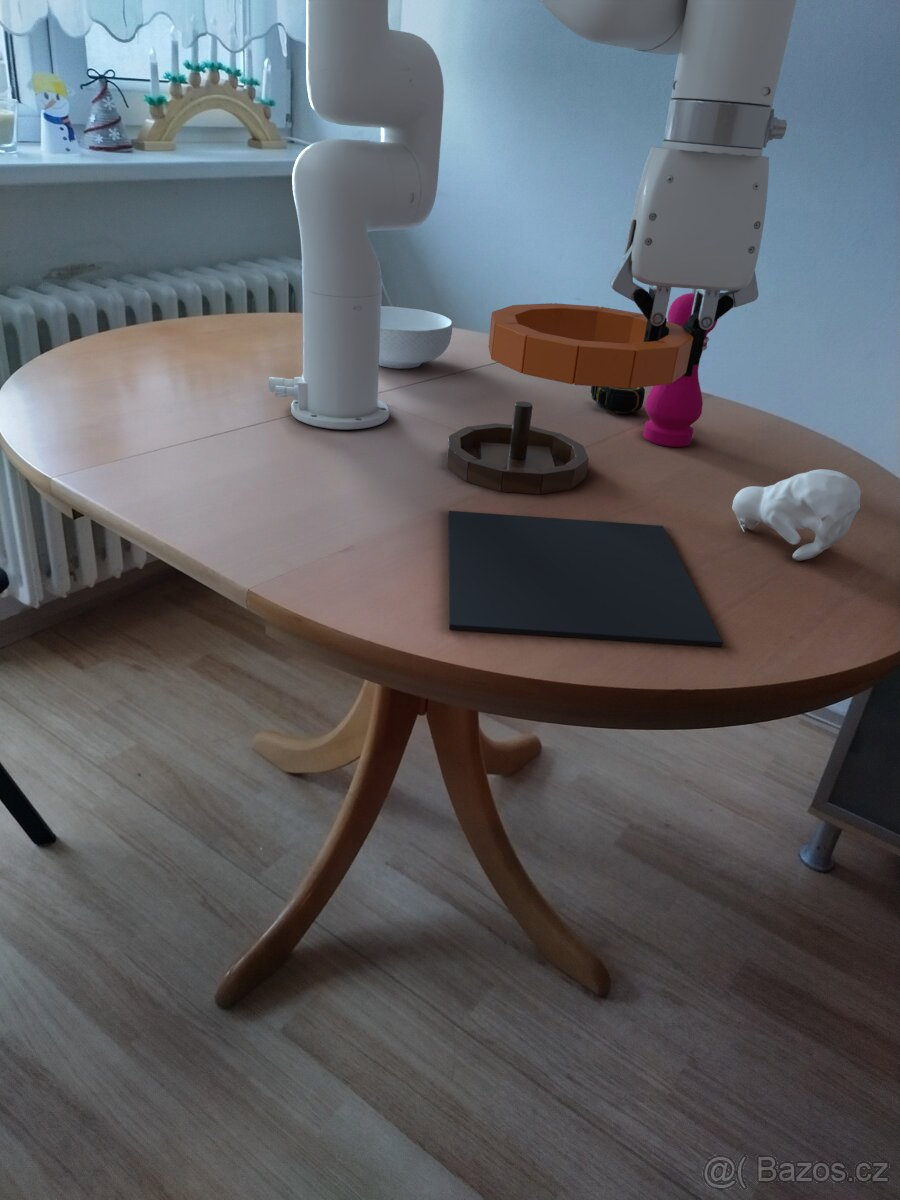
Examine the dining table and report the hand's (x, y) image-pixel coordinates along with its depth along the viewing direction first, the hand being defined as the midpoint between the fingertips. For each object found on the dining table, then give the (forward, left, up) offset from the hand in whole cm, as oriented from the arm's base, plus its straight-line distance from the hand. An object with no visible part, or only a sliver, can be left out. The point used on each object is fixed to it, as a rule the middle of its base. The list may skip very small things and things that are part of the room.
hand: (667, 369), depth 75 cm
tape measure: (+6, +46, -18) cm, 50 cm away
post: (-10, +20, -18) cm, 29 cm away
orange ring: (-7, 0, 0) cm, 7 cm away
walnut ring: (-10, +20, -18) cm, 29 cm away
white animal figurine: (+16, +4, -18) cm, 24 cm away
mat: (-7, -6, -18) cm, 20 cm away
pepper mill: (+11, +34, -18) cm, 40 cm away
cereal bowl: (-26, +62, -18) cm, 70 cm away
